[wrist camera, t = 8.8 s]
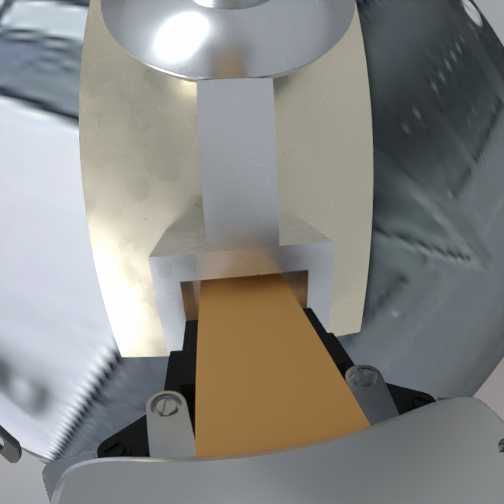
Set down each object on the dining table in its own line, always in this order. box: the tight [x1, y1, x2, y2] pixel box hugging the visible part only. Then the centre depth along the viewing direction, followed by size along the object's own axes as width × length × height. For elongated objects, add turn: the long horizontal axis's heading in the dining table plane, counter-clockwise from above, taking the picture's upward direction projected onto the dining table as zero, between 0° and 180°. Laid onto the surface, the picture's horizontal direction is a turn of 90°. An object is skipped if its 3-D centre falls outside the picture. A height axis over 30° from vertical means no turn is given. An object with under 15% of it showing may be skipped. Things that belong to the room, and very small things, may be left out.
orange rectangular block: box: [195, 273, 370, 457], centre depth 10 cm, size 4×4×10 cm
